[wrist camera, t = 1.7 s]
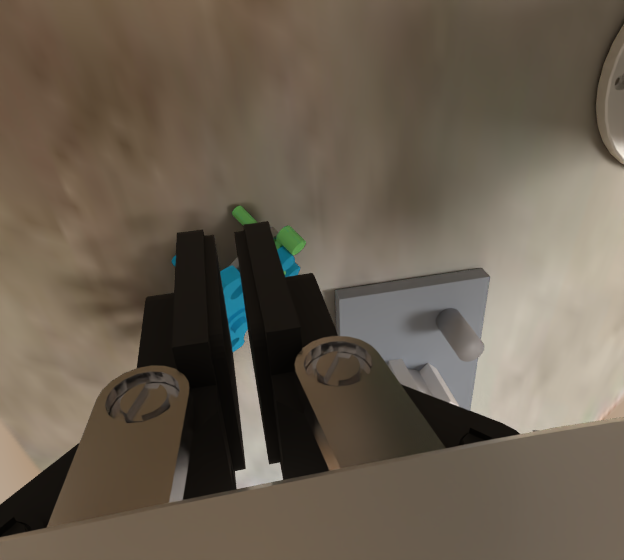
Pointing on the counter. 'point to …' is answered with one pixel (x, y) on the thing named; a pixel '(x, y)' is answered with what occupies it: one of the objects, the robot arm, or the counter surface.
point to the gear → (231, 280)
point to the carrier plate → (422, 329)
